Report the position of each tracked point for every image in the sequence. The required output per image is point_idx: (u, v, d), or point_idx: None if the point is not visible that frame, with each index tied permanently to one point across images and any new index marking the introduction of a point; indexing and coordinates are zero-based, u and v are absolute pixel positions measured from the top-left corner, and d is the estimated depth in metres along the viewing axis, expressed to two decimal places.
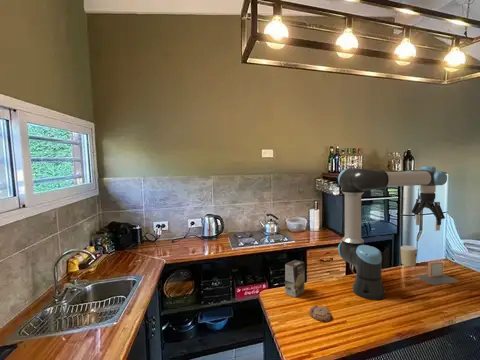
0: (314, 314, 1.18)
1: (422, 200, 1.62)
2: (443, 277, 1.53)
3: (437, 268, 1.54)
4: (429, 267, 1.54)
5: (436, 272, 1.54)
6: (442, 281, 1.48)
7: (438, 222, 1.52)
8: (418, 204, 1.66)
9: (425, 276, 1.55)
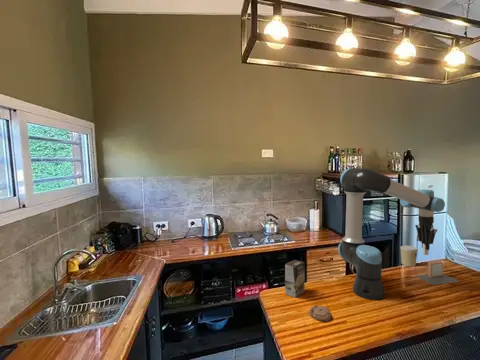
0: (314, 314, 1.18)
1: (420, 222, 1.62)
2: (443, 277, 1.53)
3: (437, 268, 1.54)
4: (429, 267, 1.54)
5: (436, 272, 1.54)
6: (442, 281, 1.48)
7: (426, 247, 1.59)
8: (420, 230, 1.64)
9: (425, 276, 1.55)
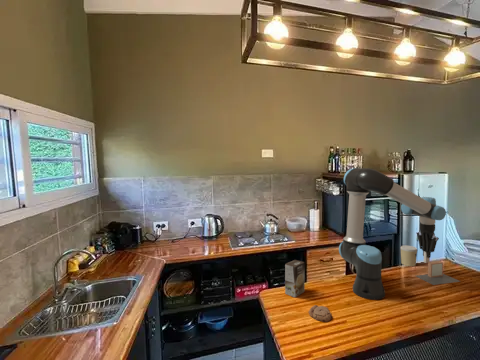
0: (314, 314, 1.18)
1: (421, 230, 1.62)
2: (443, 277, 1.53)
3: (437, 268, 1.54)
4: (429, 267, 1.54)
5: (436, 272, 1.54)
6: (442, 281, 1.48)
7: (428, 255, 1.58)
8: (421, 237, 1.63)
9: (425, 276, 1.55)
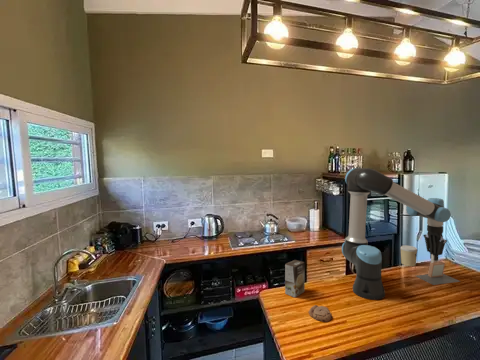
0: (314, 314, 1.18)
1: (428, 232, 1.57)
2: (443, 277, 1.53)
3: (438, 269, 1.53)
4: (430, 267, 1.53)
5: (437, 272, 1.53)
6: (442, 281, 1.48)
7: (435, 258, 1.53)
8: (428, 239, 1.58)
9: (425, 276, 1.55)
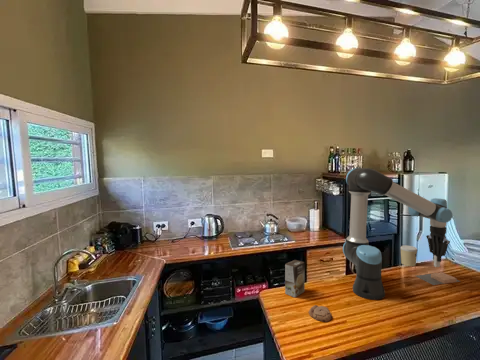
0: (314, 314, 1.18)
1: (431, 233, 1.55)
2: None
3: None
4: (439, 279, 1.48)
5: None
6: None
7: (438, 259, 1.52)
8: (431, 240, 1.56)
9: (425, 276, 1.55)
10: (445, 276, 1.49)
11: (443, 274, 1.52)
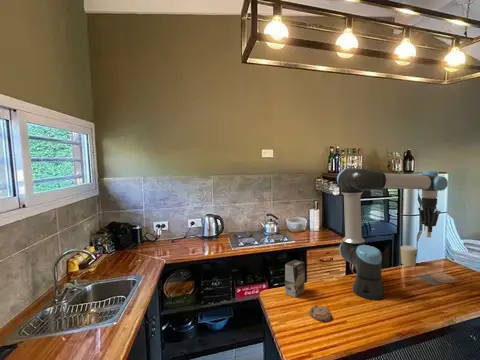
0: (314, 314, 1.18)
1: (423, 204, 1.60)
2: None
3: None
4: (439, 279, 1.48)
5: None
6: None
7: (429, 229, 1.56)
8: (423, 212, 1.61)
9: (425, 276, 1.55)
10: (445, 276, 1.49)
11: (443, 274, 1.52)
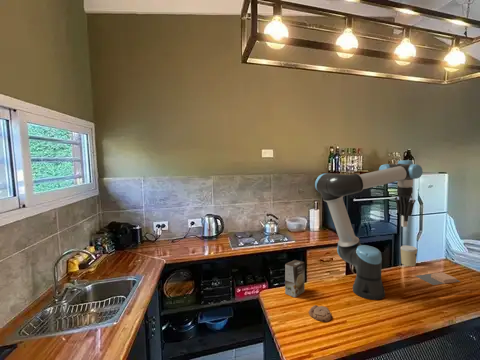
0: (314, 314, 1.18)
1: (399, 194, 1.60)
2: None
3: None
4: (439, 279, 1.48)
5: None
6: None
7: (405, 218, 1.56)
8: (399, 202, 1.61)
9: (425, 276, 1.55)
10: (445, 276, 1.49)
11: (443, 274, 1.52)
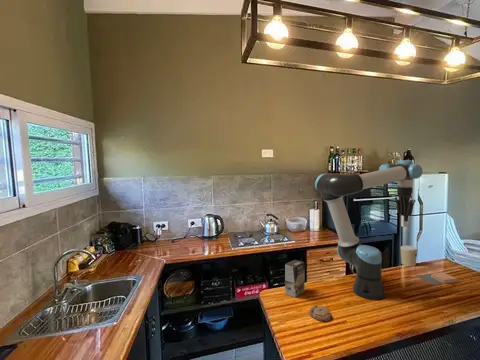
0: (314, 314, 1.18)
1: (399, 194, 1.60)
2: None
3: None
4: (439, 279, 1.48)
5: None
6: None
7: (405, 218, 1.56)
8: (399, 202, 1.61)
9: (425, 276, 1.55)
10: (445, 276, 1.49)
11: (443, 274, 1.52)
